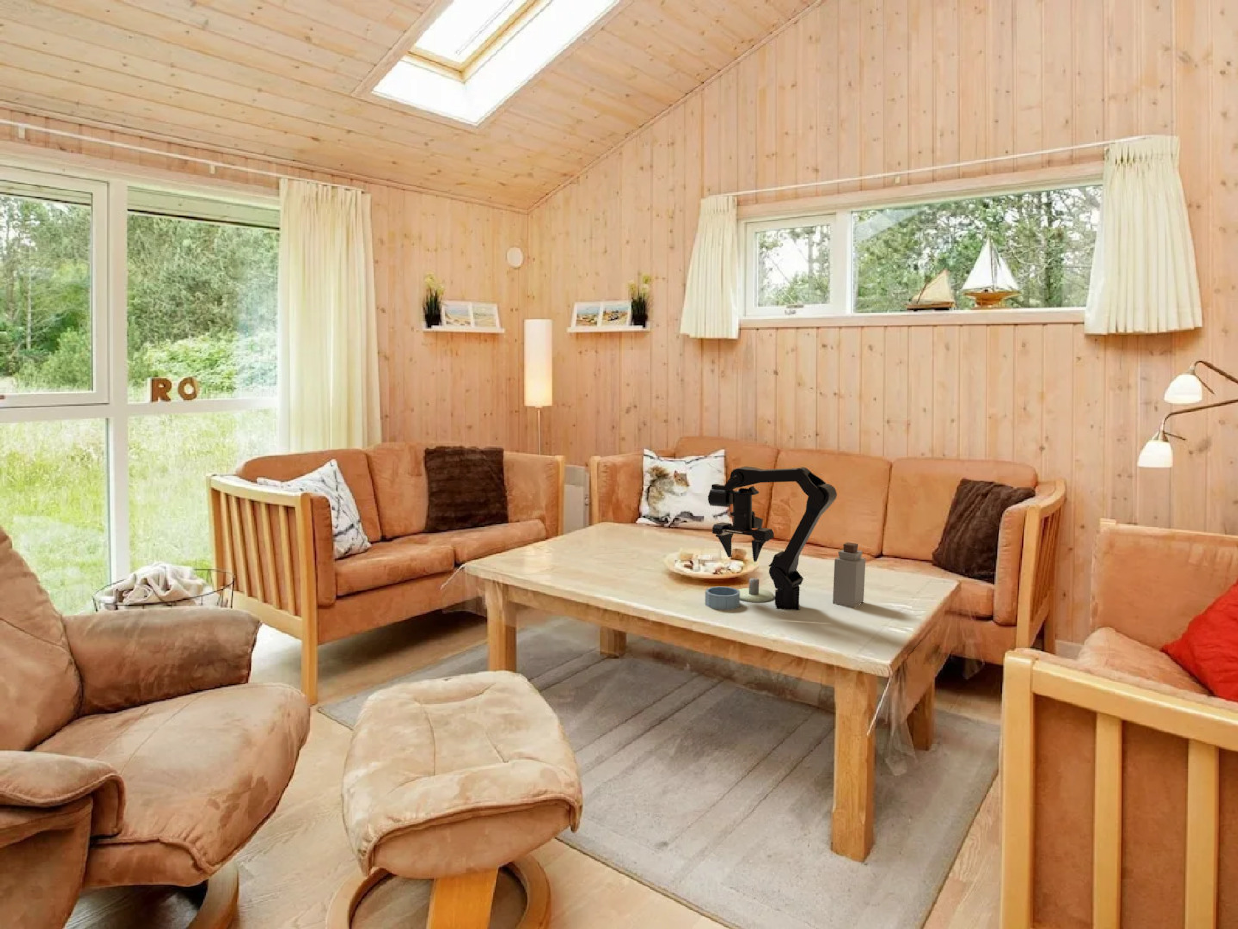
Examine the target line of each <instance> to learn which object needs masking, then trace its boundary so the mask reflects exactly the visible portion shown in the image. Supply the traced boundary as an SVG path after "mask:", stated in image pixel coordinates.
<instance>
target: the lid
mask: <svg viewBox="0 0 1238 929" xmlns="http://www.w3.org/2000/svg"><path fill="white" fill-rule="evenodd" d="M737 590H739V591H740V600H743V601H742V602H744V601H748V602H747V603H751V602H764V603H767V602H766V601H770V600H772V599H773V598H774V596H775V593H773V592H772V591H770V590H767V589H764V588H760V579H759V578H756V577H750V578H749V580H748V587H746V588H740V589H738V588H737ZM770 602H771V601H770Z"/></svg>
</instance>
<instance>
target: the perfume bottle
mask: <svg viewBox="0 0 1238 929" xmlns="http://www.w3.org/2000/svg"><path fill="white" fill-rule="evenodd" d="M842 545H843V549H841V550H839V551H837V552H838V554H837V555H838V557H837V558H834V564H833V565H834V566H833V567H834V568H833V587H832V588H833V591H832V592H833V593H832V604H835V603H836V604H835V605H841V606H844V605H845V607H849V608H854V607H855V608H857V607H859V606H860V605H861V604H860V603H861V602H863V601H864V602H865V598H864V597H865V580H866V578H865V577H866V576H865V575H866V558H864V557H862V554H863V551H862V550H858V547H859V543H856V542H855V543H854V542H845V543H843V544H842ZM864 602H863V603H864ZM859 604H860V605H859Z"/></svg>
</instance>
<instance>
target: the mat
mask: <svg viewBox="0 0 1238 929" xmlns="http://www.w3.org/2000/svg"><path fill="white" fill-rule="evenodd" d="M773 601H775V595H774V598H773V599H772V600H770V601H766V602H750V603H753V604H754V603H755V604H760V603H761V604H762V603H770V602H773ZM740 602H745V603H749V602H748V601H743V600H740Z"/></svg>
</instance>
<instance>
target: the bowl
mask: <svg viewBox="0 0 1238 929" xmlns="http://www.w3.org/2000/svg"><path fill="white" fill-rule="evenodd" d="M704 593H705V598H704V603H705V606H706V607H709V608H711V609H715V610H734V609H737V608H739V607H740V604H741V601H740V591H739V590H738V588H734V587H730V586H721V585H720V586H711V587H709V588H706V589H705V592H704Z"/></svg>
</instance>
